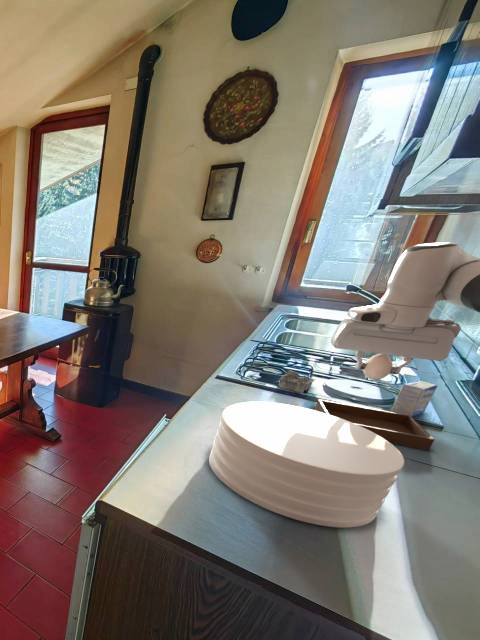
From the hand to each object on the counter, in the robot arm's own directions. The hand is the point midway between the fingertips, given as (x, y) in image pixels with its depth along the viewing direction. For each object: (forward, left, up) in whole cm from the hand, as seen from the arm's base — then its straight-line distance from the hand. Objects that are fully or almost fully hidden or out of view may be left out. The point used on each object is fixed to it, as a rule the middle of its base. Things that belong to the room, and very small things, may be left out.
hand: (375, 370), depth 97 cm
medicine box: (-17, -20, -16) cm, 31 cm away
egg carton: (+8, -26, -16) cm, 32 cm away
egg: (0, 0, -2) cm, 2 cm away
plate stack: (+18, +37, -16) cm, 44 cm away
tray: (-4, -2, -16) cm, 17 cm away
